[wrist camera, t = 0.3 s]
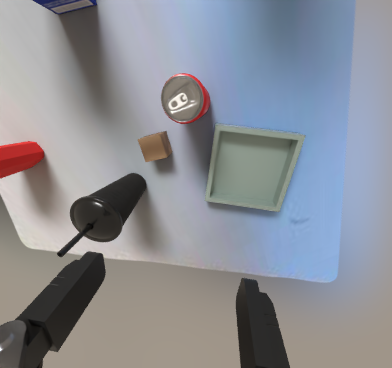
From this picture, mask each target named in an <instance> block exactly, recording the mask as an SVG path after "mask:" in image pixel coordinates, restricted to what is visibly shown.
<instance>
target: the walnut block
mask: <svg viewBox="0 0 392 368" xmlns="http://www.w3.org/2000/svg"><path fill="white" fill-rule="evenodd" d="M138 142H139V145H140V147H141V150H142V153H143V156H144V158H145V161H146V162H149V161H153V160H158V159H162V158H167V157H168V156H169V155H170V154H171V153H172V149H171V146H170V142H169V139H168V136H167V132H166V131H164V132H160V133H156V134H152V135H148V136H145V137H143V138H140V139H138Z"/></svg>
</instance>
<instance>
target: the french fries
mask: <svg viewBox="0 0 392 368" xmlns="http://www.w3.org/2000/svg"><path fill="white" fill-rule="evenodd" d="M43 158H44V151H43V150H42V148H41V147H40V146H39V145H38V144H37V143H36V142H30V141H28V142H22V143H15V144H9V145H3V146H0V178H3V177H6V176H9V175H12V174H14V173H17V172H20V171H23V170H26V169H28V168H31V167H33V166H34V165H36V164H37V163H38V162H39V161H41V160H42V159H43Z"/></svg>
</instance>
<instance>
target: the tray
mask: <svg viewBox="0 0 392 368" xmlns="http://www.w3.org/2000/svg"><path fill="white" fill-rule="evenodd" d="M304 139H305V135H302V134H299V133H294V132H286V131H278V130H270V129H261V128H253V127H245V126H237V125H229V124H220V123H216V125H215V132H214V139H213V146H212V153H211V160H210V167H209V174H208V181H207V188H206V195H205V201H209V202H215V203H222V204H229V205H236V206H242V207H249V208H256V209H262V210H269V211H276V212H279V211H280V208H281V205H282V202H283V199H284V197H285V194H286V191H287V188H288V185H289V182H290V179H291V176H292V173H293V170H294V168H295V165H296V162H297V159H298V156H299V153H300V150H301V147H302V144H303V141H304Z"/></svg>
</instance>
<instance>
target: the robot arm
mask: <svg viewBox="0 0 392 368" xmlns="http://www.w3.org/2000/svg"><path fill="white" fill-rule="evenodd" d="M105 273H106V272H105V265H104V258H103V254H102V253H96V252H90V251H89V252H86V253H85V254H84V255H83V257H82V258H81V259H80V260H75V261H73V262H71V263H70V264H68V265H67V266H65V268H63V270H62V271H61V272H60V273H59V274H58V275H57V277H55V278H54V279H53V280H52V281H51V282H50V284H49V285H48V286H47V287H46V288H45V289H44V290H43V291H42V292H41V293H40V294H39V295H38V296H37V297H36V298H35V300H34V301H33V302H32V303H31V304H30V305H29V306H28V307H27V308H26V309H25V310H24V311H23V312H22V314H20V316H19V317H17V318H16V319H15V320H13V321H9V322H7V323H4V324H2V325H0V368H42V366H43V358H44V356H45V355H46V354H47V352H48V351H49V350H50V351H55V352H58V351H59V349H60V348H61V346H62V345H63V343H64V341H65V340H66V338H67V337H68V335H69V334H70V332H71V331H72V329H73V327H74V326H75V324H76V323H77V321H78V320H79V318H80V317H81V315H82V314H83V312H84V310H85V308H86V307H87V306H88V304H89V303H90V301H91V300H92V298H93V296H94V295H95V293H96V292H97V290H98V289H99V287H100V286H101V284H102V282H103V280H104V278H105ZM236 314H237V327H238V339H239V351H240V363H241V368H290V365H289V362H288V358H287V354H286V351H285V347H284V343H283V339H282V335H281V332H280V329H279V324H278V321H277V318H276V313H275V310H274V306H273V303H272V301H271V300H270V298H269V297H268V295H267V294H266V293H262V292H259V287H258V283H257V281H256V280H252V279H246V278H242V279H241V283H240V286H239V289H238V293H237V296H236Z"/></svg>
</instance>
